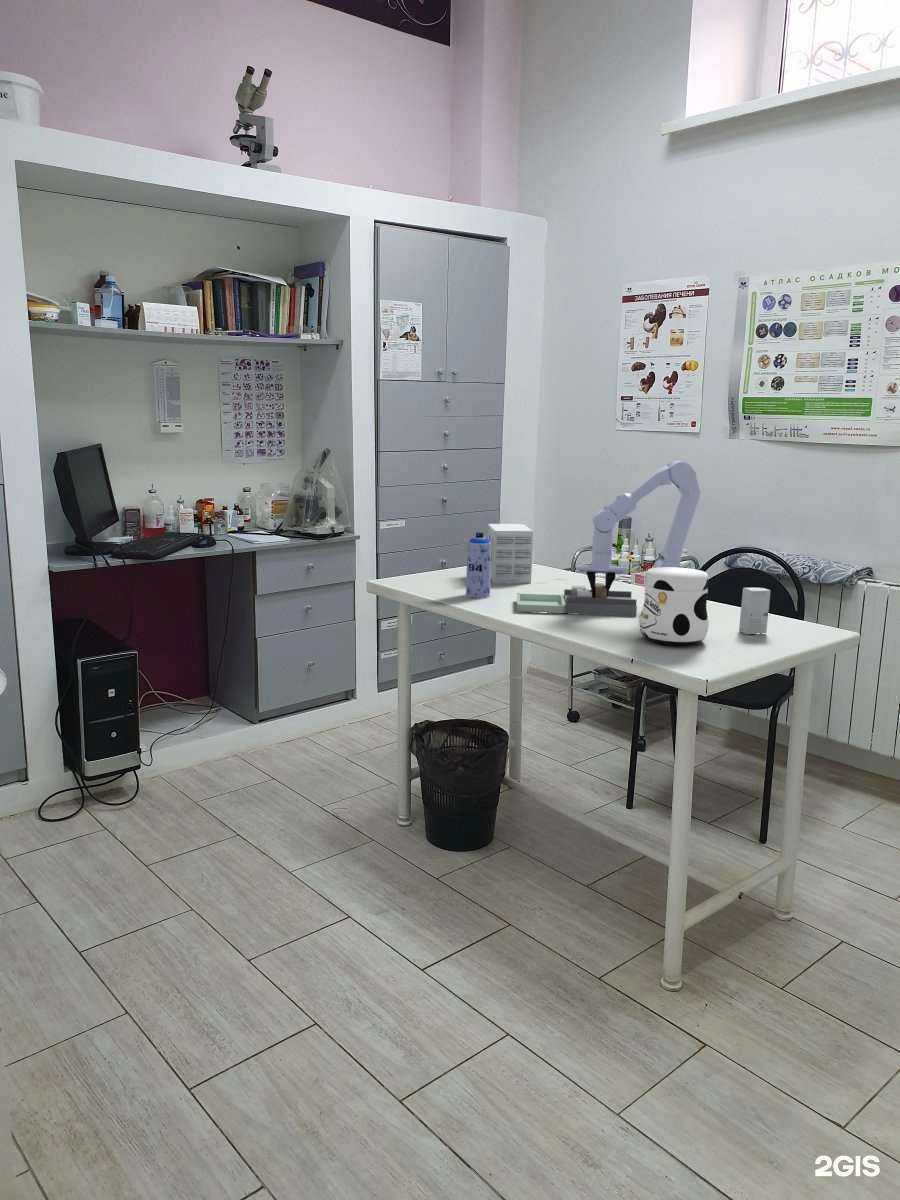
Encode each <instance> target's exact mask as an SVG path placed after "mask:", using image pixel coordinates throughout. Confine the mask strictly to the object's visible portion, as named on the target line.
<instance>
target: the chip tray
mask: <svg viewBox="0 0 900 1200" xmlns="http://www.w3.org/2000/svg"><path fill="white" fill-rule="evenodd" d="M517 612H547V613H566V603H565V600H564V594H551V593H546V594H545V593H522V592H521V593H519V592H518V593H516V613H517Z"/></svg>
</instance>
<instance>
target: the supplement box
mask: <svg viewBox="0 0 900 1200" xmlns="http://www.w3.org/2000/svg"><path fill="white" fill-rule="evenodd" d="M487 539H488V540H489V542H491V575H490V581H491V582H492V583H493V584H531V583H532V573H533V572H532V571H533V569H532V567H533V548H534V547H533V546H534V545H533V544H534V530H533V529H531V528H530V527H528V526H527V525H526V524H524V523H488V524H487Z"/></svg>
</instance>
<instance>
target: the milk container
mask: <svg viewBox="0 0 900 1200" xmlns="http://www.w3.org/2000/svg"><path fill="white" fill-rule="evenodd" d="M708 588H709V573H708V572H706V571H704V570H701V569H700V570H699V569H696V568H695V569H694V568H689V567H688V568H687V567H680V566H679V567H656V568H653V567H652V568H649V569H647V571H646V574H645V586H644V602H643V606H642V609H641V612H640V615H639V619H638V620H639V622H638V623H639V632H640V634H641V635H642V636H643V637H644V638H646V639H647V640H650V641H651V642H656V643H660V644H666V645H673V646H675V645H676V646H685V645H693V644H697V643H701V642H702V641H704V639H706V637H707V635H708V631H709V622H710V621H709V616H708V610H707V602H708V601H707V600H708V592H709V589H708Z"/></svg>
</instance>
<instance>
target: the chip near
mask: <svg viewBox="0 0 900 1200" xmlns="http://www.w3.org/2000/svg"><path fill="white" fill-rule="evenodd" d="M576 597H583V598H592V592H591V589H587V588H586V589H577V596H576Z"/></svg>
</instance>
